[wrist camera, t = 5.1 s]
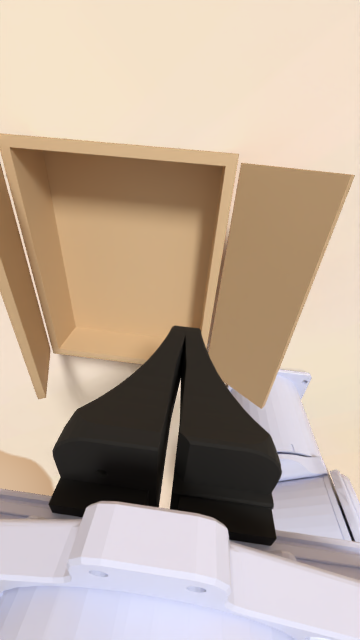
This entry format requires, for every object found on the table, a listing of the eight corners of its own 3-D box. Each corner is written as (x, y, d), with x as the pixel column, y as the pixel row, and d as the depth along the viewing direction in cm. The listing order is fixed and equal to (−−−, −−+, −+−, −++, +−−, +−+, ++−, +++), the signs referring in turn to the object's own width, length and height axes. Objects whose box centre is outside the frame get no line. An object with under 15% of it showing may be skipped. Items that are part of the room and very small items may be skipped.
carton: (203, 343, 26) (202, 371, 22) (73, 327, 26) (53, 353, 23) (233, 153, 17) (238, 154, 14) (36, 136, 18) (-5, 133, 14)
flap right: (205, 368, 22) (209, 366, 23) (261, 409, 19) (264, 405, 19) (241, 163, 14) (246, 163, 14) (351, 175, 11) (354, 175, 11)
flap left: (-6, 141, 14) (-17, 140, 14) (-38, 142, 10) (-53, 141, 10) (50, 349, 23) (44, 350, 23) (45, 397, 19) (38, 399, 18)
